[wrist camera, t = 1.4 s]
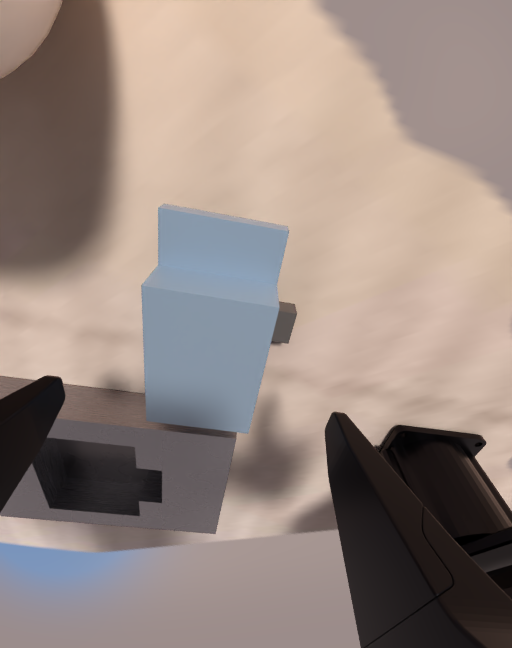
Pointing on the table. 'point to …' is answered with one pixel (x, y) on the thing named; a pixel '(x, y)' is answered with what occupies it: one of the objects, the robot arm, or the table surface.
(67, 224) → the table surface
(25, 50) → the lidded jar
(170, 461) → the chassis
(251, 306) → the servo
